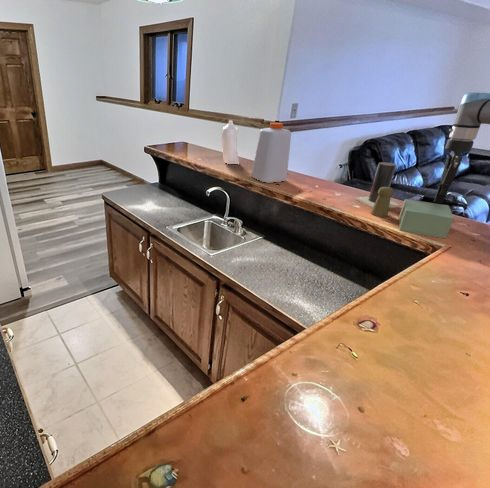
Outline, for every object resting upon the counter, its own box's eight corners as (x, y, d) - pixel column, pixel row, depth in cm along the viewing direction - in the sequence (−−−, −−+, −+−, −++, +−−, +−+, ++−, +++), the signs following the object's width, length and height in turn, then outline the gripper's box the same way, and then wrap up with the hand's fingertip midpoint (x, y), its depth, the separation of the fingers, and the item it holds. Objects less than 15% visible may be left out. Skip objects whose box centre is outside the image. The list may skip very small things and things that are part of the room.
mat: (398, 207, 147) (399, 205, 146) (373, 208, 145) (373, 206, 144) (378, 198, 157) (379, 195, 157) (354, 199, 155) (355, 197, 155)
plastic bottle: (289, 181, 179) (299, 124, 166) (265, 184, 174) (273, 126, 161) (271, 174, 191) (279, 120, 179) (248, 176, 186) (254, 121, 174)
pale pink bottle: (231, 166, 206) (235, 122, 195) (216, 163, 212) (220, 120, 201) (242, 163, 213) (246, 120, 202) (227, 160, 220) (231, 118, 209)
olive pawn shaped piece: (371, 210, 143) (378, 184, 138) (387, 213, 140) (396, 186, 135) (370, 215, 138) (377, 188, 133) (387, 218, 136) (396, 190, 131)
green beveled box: (398, 217, 137) (405, 198, 133) (441, 224, 130) (448, 205, 127) (399, 230, 125) (406, 210, 122) (445, 238, 119) (454, 218, 116)
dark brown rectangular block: (388, 203, 148) (400, 165, 141) (375, 203, 147) (386, 166, 140) (377, 198, 154) (388, 161, 147) (364, 198, 153) (375, 162, 146)
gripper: (446, 136, 131) (425, 196, 142) (450, 141, 121) (427, 205, 131) (471, 137, 128) (447, 199, 138) (478, 143, 118) (452, 208, 128)
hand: (438, 202), depth 135 cm, fingers closed
